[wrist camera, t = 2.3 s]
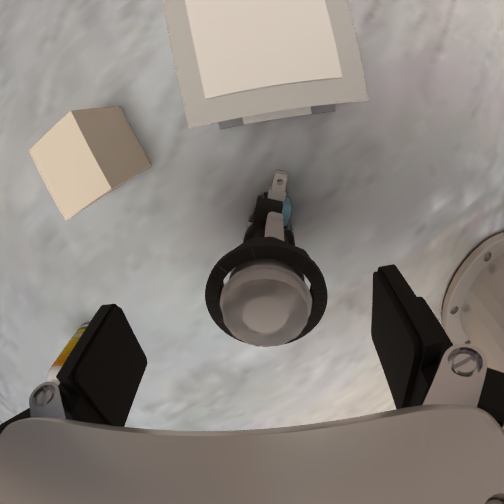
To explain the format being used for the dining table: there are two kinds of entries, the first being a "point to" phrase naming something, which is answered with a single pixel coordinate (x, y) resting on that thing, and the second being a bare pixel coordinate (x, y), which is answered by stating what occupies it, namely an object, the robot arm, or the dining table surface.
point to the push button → (267, 279)
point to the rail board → (263, 58)
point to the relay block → (88, 157)
